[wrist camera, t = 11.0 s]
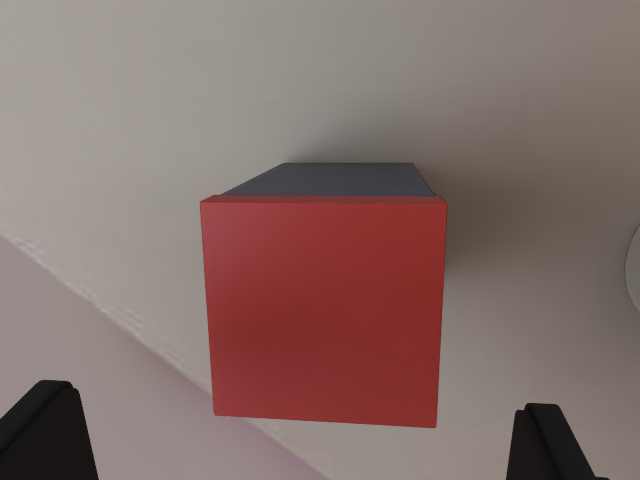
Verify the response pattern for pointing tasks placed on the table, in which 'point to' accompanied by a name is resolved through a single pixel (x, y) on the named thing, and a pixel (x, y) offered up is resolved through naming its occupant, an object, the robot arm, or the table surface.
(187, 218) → the table surface
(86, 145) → the table surface
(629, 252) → the reusable coffee cup
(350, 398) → the red-lidded grey box
